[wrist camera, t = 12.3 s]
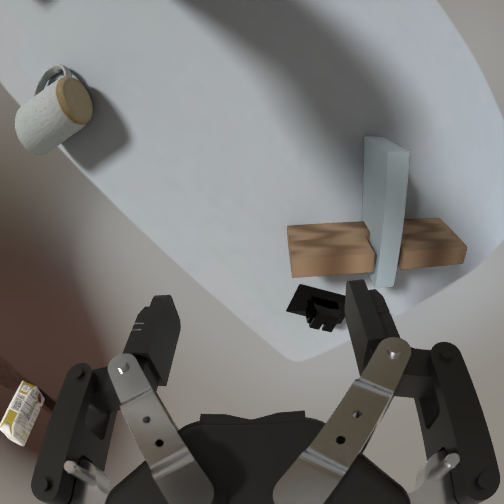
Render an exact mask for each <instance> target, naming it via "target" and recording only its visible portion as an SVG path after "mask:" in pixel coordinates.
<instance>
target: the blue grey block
mask: <svg viewBox="0 0 504 504" xmlns="http://www.w3.org/2000/svg"><path fill="white" fill-rule="evenodd" d="M409 154H410V152H408V151H407V150H405V149H403V148H402V147H400V146H398V145H396V144H395V143H393V142H391V141H389V140H388V139H386V138H384V137H375V136H364V172H363V202H362V219H363V221H364V223H365V224H366V226H367V227H368V229H369V231H370V242H369V244H370V246H371V248H372V249H373V251H374V253H375V256H374V264H373V272H368V273H369V276H370V278H371V280H372V282H373V285H374V287H375V288H383V287H393V286H394V281H395V276H396V270H397V264H398V258H399V252H400V245H401V238H402V231H403V223H404V215H405V206H406V196H407V185H408V171H409Z"/></svg>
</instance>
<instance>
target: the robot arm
mask: <svg viewBox="0 0 504 504" xmlns="http://www.w3.org/2000/svg"><path fill="white" fill-rule="evenodd" d="M345 318H346V322H347V326H348V330H349V334H350V337H351V341H352V345H353V349H354V353H355V357H356V361H357V365H358V369H359V374H360V378H359V379H358V380H357V379H356V380H355V381H354V382H353V384H352V385H351V387H350V388H349V390H348V391H347V393H346V394H345V396H344V398H343V399H342V401H341V402H340V404H339V405H338V407H337V408H336V410H335V411H334V413H333V414H332V415H331V417H330V418H329V420H328V421H327V423H324V422H322V421H319V420H317V419H312V418H307V417H305V411H294V412H281V413H275V414H272V415H268V416H265V417H261V418H257V419H252V420H250V419H245V418H240V417H235V416H231V415H226V414H201V416H200V421H197V422H194V423H191V424H189V425H186V426H184V427H183V428H181V429H179V428H178V426H177V425H176V423H175V422H174V421H173V419H172V417H171V416H170V414H169V412H168V411H167V409H166V407H165V406H164V404H163V402H162V401H161V399H160V397H159V396H158V394H157V392H156V391H157V387H158V386H166V385H167V381H168V377H169V373H170V369H171V365H172V361H173V356H174V353H175V349H176V345H177V341H178V337H179V333H180V328H181V326H180V319H179V316H178V313H177V310H176V308H175V305H174V302H173V299H172V297H171V296H170V295H158V296H154V297H153V299H152V302H151V304H150V307H144V309H143V310H142V311H141V312H140V313H139V314H138V316H137V318H136V321H135V324H134V326H133V329H132V331H131V333H130V336H129V338H128V341H127V343H126V346H125V349H124V351H123V353H122V354H120V355H118V356H116V357H115V358H113V359H112V360H111V361H110V363H109V365H108V367H103V368H99V369H95V370H92V368H91V367H90V366H89V365H88V364H86V363H79V364H76V365H74V366H73V367H72V368H71V369H70V370H69V371H68V373H67V375H66V378H65V380H64V383H63V385H62V388H61V390H60V394H59V396H58V399H57V401H56V404H55V407H54V409H53V412H52V415H51V418H50V421H49V424H48V427H47V430H46V433H45V436H44V439H43V442H42V446H41V449H40V453H39V456H38V459H37V463H36V466H35V470H34V474H33V478H32V482H31V488H32V492H33V494H34V495H35V497H36V498H37V499H39V500H41V501H43V502H45V503H47V504H479V503H480V502H482V501H484V500H486V499H488V498H489V497H491V496H492V495H493V494H494V493H495V492H496V490H497V489H498V487H499V484H500V474H499V469H498V465H497V461H496V457H495V452H494V449H493V445H492V441H491V438H490V434H489V431H488V427H487V424H486V421H485V418H484V414H483V411H482V408H481V405H480V403H479V399H478V397H477V394H476V391H475V388H474V386H473V383H472V380H471V378H470V375H469V372H468V370H467V367H466V365H465V362H464V360H463V357H462V355H461V352H460V351H459V349H458V348H457V347H456V346H455V345H453V344H451V343H448V342H440V343H437V344H435V345H434V346H433V347H432V349H431V350H422V349H414V348H412V347H410V345H409V344H408V343H407V342H406V341H405V340H403V339H401V338H400V336H399V334H398V331H397V329H396V326H395V324H394V321H393V319H392V316H391V314H390V313H389V309H388V307H387V304H386V302H385V300H384V298H383V296H382V295H381V294H380V293H379V292H378V291H377V290H376V289H373V290H368V289H367V286H366V284H365V281H364V280H363V279H361V280H352V281H347V284H346V296H345ZM394 396H400V397H411V398H414V400H415V404H416V408H417V412H418V417H419V421H420V426H421V431H422V436H423V440H424V445H425V451H426V456H427V462H426V463H424V465H422V466H421V467H420V469H419V470H418V472H417V475H416V484H415V488H414V490H413V491H412V493H409V494H407V492H406V491H405V489H404V488H403V487H402V486H401V485H400V484H398V483H397V482H396V481H395V480H393V479H392V478H391V477H389V476H388V475H387V474H386V473H385V472H383V471H382V470H381V469H380V468H378V466H376V465H375V464H374V463H373V462H372V461H370V460H369V459H368V458H367V457H365V455H363V453H364V451H365V449H366V448H367V446H368V444H369V443H370V441H371V439H372V437H373V435H374V434H375V432H376V430H377V428H378V426H379V424H380V422H381V421H382V419H383V417H384V415H385V413H386V411H387V409H388V407H389V405H390V404H391V401H392V400H393V398H394ZM118 410H121V411H122V413H123V415H124V418H125V420H126V422H127V424H128V426H129V428H130V430H131V433H132V435H133V437H134V439H135V441H136V443H137V445H138V447H139V449H140V450H141V452H142V454H143V456H144V458H145V461H144V462H143V463H142V464H141V465H139V466H138V467H137V468H136V469H135V470H134V471H133V472H131V473H130V474H129V475H128V476H127V477H126V478H124V479H123V480H122V481H121V482H120V483H119V484H117V485H116V486H115V487H114V488H113V489H112V490H111V491H110V482H109V478H108V476H107V475H106V473H105V472H104V469H105V464H106V459H107V453H108V449H109V445H110V440H111V436H112V431H113V427H114V423H115V418H116V414H117V411H118Z"/></svg>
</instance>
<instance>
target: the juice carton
mask: <svg viewBox="0 0 504 504" xmlns="http://www.w3.org/2000/svg"><path fill="white" fill-rule="evenodd" d="M44 400H45V398H44V397H43V395H42V394H41V392H40V390H39V389H38V387H37V386H35V385H32V384H30V383H27V382H25V381H22V382H21V384H20V386H19V388H18V390H17V391H16V393H15V395H14V397H13V399H12V401H11V403H10V405H9V407H8V409H7V411H6V413H5V415H4V417H3V419H2V421H1V423H0V430H1V431H2V432H3V433H4V434H5V435H6V436H7V437H8V439H10V440H12V441H13V442H15V443H17V444H19V445H21V446H24V445H25V442H26V441H27V438H28V436H29V434H30V431H31V429H32V427H33V425H34V422H35V420H36V418H37V416H38V414H39V411H40V409H41V407H42V405H43V402H44Z"/></svg>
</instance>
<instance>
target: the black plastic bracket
mask: <svg viewBox="0 0 504 504" xmlns="http://www.w3.org/2000/svg"><path fill="white" fill-rule="evenodd" d="M286 311H287V312H291V313H295V314H299V315H303V316H306V319H307V323H309V327H310V328H314V329H318V330H319V329H320V327H321V325H322V324H324V326H323V327H322V330H323V331H328V332H332V331H333V329H334V327H335V326H336V324H341V322H342V321H343V319H344V318H345V296H344V295H341V294H337V293H333V292H329V291H325V290H321V289H317V288H314V287H310V286H306V285H302V284H300V285H299V286H298V288H297V290H296V292H295V294H294V296H293V298H292V300H291V302H290V304H289V306H288V308H287V310H286Z"/></svg>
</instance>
